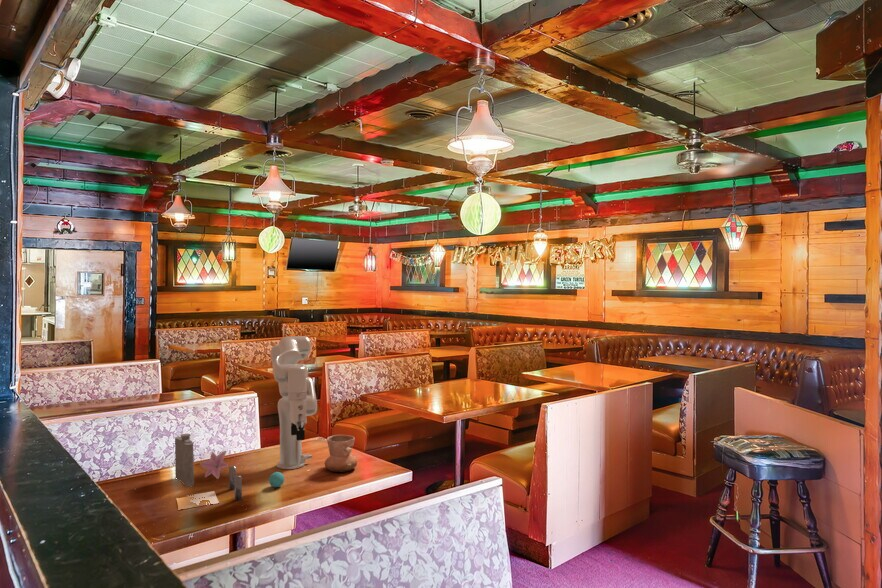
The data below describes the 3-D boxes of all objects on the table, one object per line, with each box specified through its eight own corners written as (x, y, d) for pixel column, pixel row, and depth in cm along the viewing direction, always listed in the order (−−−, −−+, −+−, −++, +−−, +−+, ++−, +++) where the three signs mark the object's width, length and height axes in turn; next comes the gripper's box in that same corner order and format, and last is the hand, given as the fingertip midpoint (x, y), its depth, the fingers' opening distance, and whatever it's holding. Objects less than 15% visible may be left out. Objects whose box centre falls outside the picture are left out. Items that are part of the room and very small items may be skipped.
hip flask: (174, 478, 242) (173, 431, 242) (184, 476, 245) (183, 429, 245) (186, 488, 230) (186, 439, 230) (197, 485, 233) (196, 437, 233)
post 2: (241, 497, 219) (240, 474, 219) (242, 500, 217) (242, 476, 217) (234, 499, 218) (233, 475, 218) (235, 501, 216) (234, 477, 216)
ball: (282, 483, 235) (282, 469, 235) (285, 487, 230) (285, 473, 230) (267, 485, 232) (267, 471, 232) (270, 490, 227) (270, 475, 227)
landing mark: (214, 491, 226) (214, 491, 226) (218, 503, 214) (218, 502, 214) (175, 498, 219) (175, 497, 219) (178, 510, 207) (178, 510, 207)
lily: (198, 476, 248) (193, 460, 243) (221, 459, 256) (217, 444, 251) (214, 489, 242) (210, 474, 237) (238, 472, 250) (234, 457, 245)
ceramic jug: (364, 471, 250) (364, 438, 250) (334, 477, 242) (334, 444, 242) (345, 461, 265) (345, 431, 265) (316, 467, 256) (316, 436, 256)
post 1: (235, 487, 231) (235, 465, 231) (236, 489, 229) (236, 467, 228) (228, 488, 230) (228, 466, 229) (229, 490, 227) (229, 468, 227)
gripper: (311, 398, 229) (312, 440, 229) (301, 392, 245) (301, 432, 245) (293, 400, 226) (293, 443, 226) (283, 393, 241) (284, 434, 241)
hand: (297, 437), depth 235 cm, fingers open, 9 cm apart
